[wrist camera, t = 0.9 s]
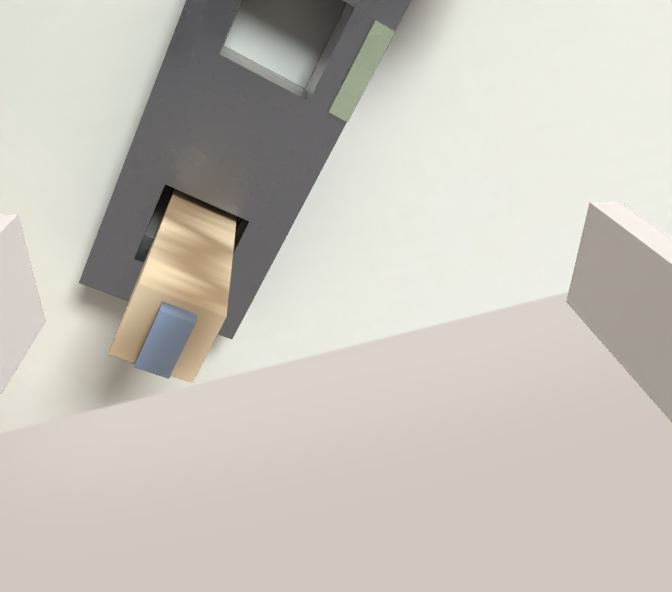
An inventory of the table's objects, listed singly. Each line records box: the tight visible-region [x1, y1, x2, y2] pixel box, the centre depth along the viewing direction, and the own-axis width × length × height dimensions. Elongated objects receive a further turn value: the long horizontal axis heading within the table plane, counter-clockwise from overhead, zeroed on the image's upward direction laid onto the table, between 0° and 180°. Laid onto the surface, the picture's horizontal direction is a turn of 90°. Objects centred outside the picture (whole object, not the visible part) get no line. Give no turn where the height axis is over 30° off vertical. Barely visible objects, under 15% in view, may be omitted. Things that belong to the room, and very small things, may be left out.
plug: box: [108, 189, 237, 383], centre depth 33 cm, size 4×4×15 cm
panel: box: [79, 0, 411, 339], centre depth 35 cm, size 10×24×4 cm, turn 152°
